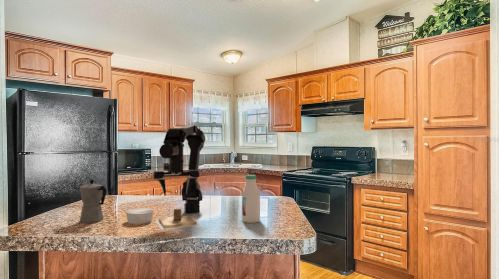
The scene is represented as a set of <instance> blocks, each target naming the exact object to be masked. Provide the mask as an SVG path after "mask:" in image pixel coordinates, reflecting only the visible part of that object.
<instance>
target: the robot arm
mask: <svg viewBox="0 0 499 279" xmlns="http://www.w3.org/2000/svg"><path fill="white" fill-rule="evenodd" d="M185 141H187V146H188V148H189V150H190V152H189V161H188V169H187V171H184V148H185V144H184V143H185ZM205 143H206V136H205V133H204V131H203V130H201V129H200V128H199V127H198V126H197V124H187V125H185V126H182V127H169V128H168V129H167V131H166V134H165V136H164V139H163V144H162V145H160V148H159V149H158V150H159V155H160V157H161V158H163V159H168V162H163V164H162V166H163V170H153V171H152V179H155V180H156V181H157V182H158V183H159V184H160V186H161V189H162V192H163V195H164V196H166V194H167V191H166V179H165V177H186V181H183V183H182V189H181V198H182V201H183V202H184V201H185V202H184V204H183V205H184V206H183V207H184V208H183V210H184V214H185V213H186V214H187V215H190V214H200V213H201V211H200V210H201V209H200V204H201V203H200V202H202V201H203V198H204V196H203V193H202V191H201V185H200V183H199V181H198V178H200V171H199V165H200V156H201V155H200V153H201V151H202V149H203V148H204V146H205Z"/></svg>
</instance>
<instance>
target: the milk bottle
mask: <svg viewBox="0 0 499 279" xmlns="http://www.w3.org/2000/svg"><path fill="white" fill-rule="evenodd" d="M245 181H246V183H245V185H244V188H243V191H242V197H241V198H242V202H241V204H242V205H241V207H242V208H241V212H242V214H241V216H242V217H241V218H242V221H243V223H246V224H254V223H256V224H257V223H260V221H261V194H260V190H259V187H258V185H257V175H256V174H247V175H245Z"/></svg>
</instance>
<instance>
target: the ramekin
mask: <svg viewBox="0 0 499 279" xmlns="http://www.w3.org/2000/svg"><path fill="white" fill-rule="evenodd" d="M125 214H126V220H127V223H128V224H129V225H143V224H148V223H151V222H152V220H153V216H154V208H150V207H138V208H130V209H128V210H126V211H125Z"/></svg>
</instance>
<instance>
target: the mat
mask: <svg viewBox="0 0 499 279" xmlns="http://www.w3.org/2000/svg"><path fill="white" fill-rule="evenodd" d="M190 217H191V218H193V219H194V220H195V221H196V222H197V224H196V225H188V226H179V227H170V228H164V227H163V225H162V224H161V223H160V221H159V219H155V220H154V221H155V223H156V224H157V226H158V227H159V229H160V230H169V229H170V230H171V229H179V228H188V227H197V226H202V224H201V223H200V222H198V221H197V220H196V219H195V218H194V217H193V216H190Z"/></svg>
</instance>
